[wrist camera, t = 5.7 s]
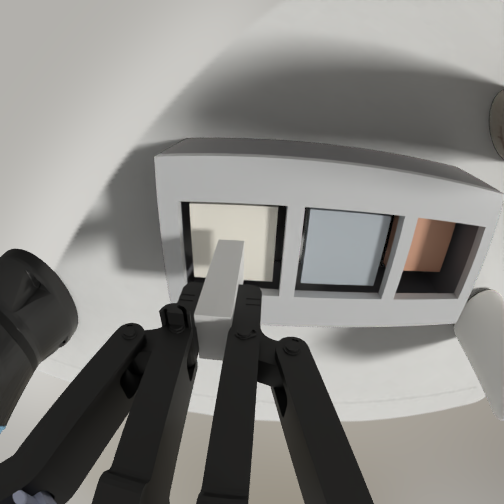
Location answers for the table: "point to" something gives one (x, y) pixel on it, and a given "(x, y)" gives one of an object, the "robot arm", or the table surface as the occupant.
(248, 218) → the key ivory
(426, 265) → the key terracotta
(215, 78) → the table surface
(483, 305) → the white milk bottle
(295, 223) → the keypad housing
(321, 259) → the key slate
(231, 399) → the robot arm
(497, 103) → the thermos bottle
